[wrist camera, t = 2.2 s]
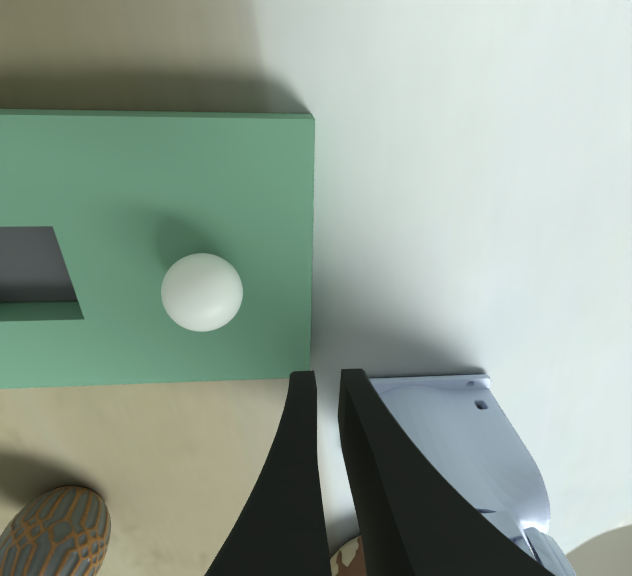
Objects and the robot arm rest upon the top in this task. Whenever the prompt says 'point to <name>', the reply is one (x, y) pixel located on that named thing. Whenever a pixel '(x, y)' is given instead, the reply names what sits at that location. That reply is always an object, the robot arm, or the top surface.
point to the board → (151, 243)
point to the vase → (57, 535)
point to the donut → (349, 559)
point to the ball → (201, 292)
